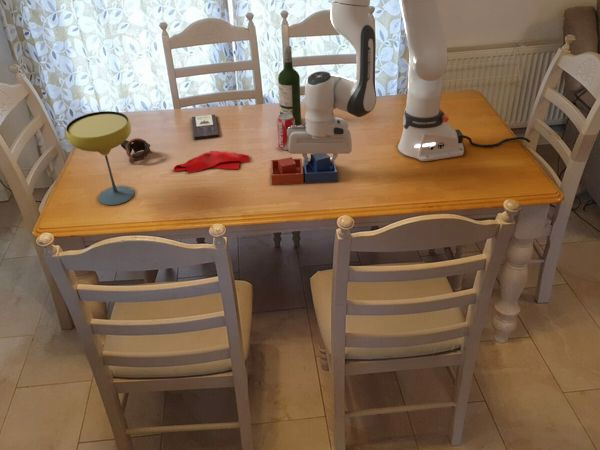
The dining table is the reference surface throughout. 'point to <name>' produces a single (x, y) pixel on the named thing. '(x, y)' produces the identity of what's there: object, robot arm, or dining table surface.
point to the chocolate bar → (205, 127)
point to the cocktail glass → (102, 144)
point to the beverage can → (284, 129)
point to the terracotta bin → (287, 178)
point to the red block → (286, 166)
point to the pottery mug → (136, 149)
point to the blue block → (320, 162)
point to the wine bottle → (289, 88)
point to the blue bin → (319, 174)
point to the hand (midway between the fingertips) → (320, 164)
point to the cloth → (213, 161)
